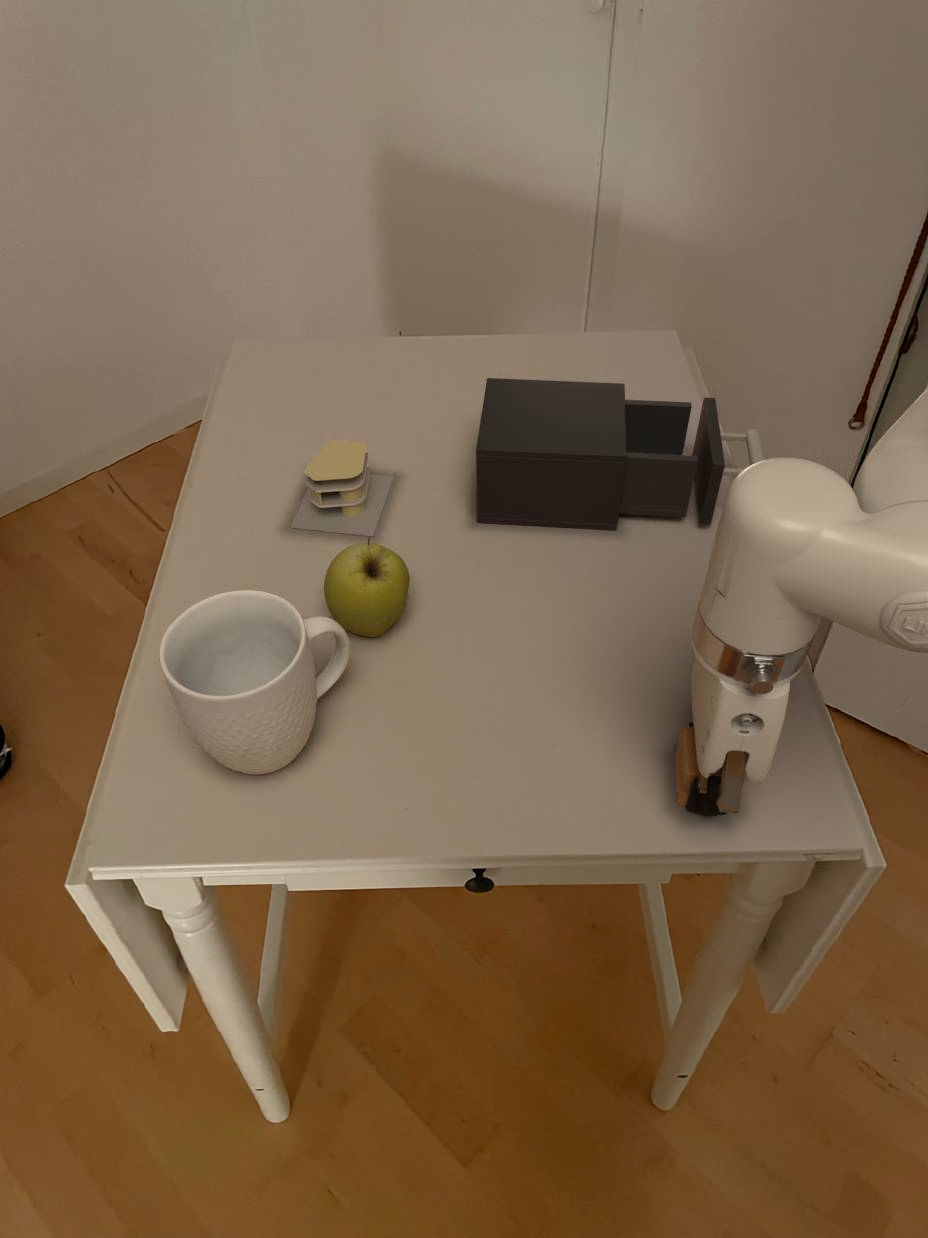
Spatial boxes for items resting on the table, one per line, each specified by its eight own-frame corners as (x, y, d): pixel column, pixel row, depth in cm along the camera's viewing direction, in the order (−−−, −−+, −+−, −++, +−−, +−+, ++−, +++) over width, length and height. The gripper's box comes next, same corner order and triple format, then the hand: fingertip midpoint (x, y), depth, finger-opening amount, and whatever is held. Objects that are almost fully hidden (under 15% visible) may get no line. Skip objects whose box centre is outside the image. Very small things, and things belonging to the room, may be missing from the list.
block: (729, 762, 76) (740, 730, 72) (734, 809, 73) (746, 778, 69) (674, 758, 76) (682, 725, 73) (677, 805, 73) (686, 773, 70)
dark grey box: (615, 456, 104) (624, 383, 97) (616, 530, 95) (626, 456, 88) (487, 450, 105) (486, 377, 98) (476, 523, 96) (476, 448, 89)
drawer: (747, 459, 101) (763, 399, 96) (759, 527, 94) (777, 466, 88) (580, 451, 103) (586, 392, 97) (579, 518, 95) (584, 457, 90)
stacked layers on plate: (316, 469, 103) (309, 428, 99) (394, 476, 102) (390, 436, 98) (290, 528, 96) (281, 487, 92) (373, 536, 95) (368, 495, 91)
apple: (309, 594, 88) (327, 513, 82) (388, 596, 91) (412, 518, 85) (322, 654, 83) (342, 574, 76) (405, 654, 86) (432, 576, 79)
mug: (320, 651, 85) (299, 546, 75) (391, 724, 79) (377, 622, 69) (175, 736, 78) (131, 634, 69) (239, 823, 73) (201, 725, 63)
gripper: (831, 740, 55) (763, 882, 68) (791, 548, 66) (740, 702, 80) (703, 731, 55) (661, 873, 69) (686, 542, 67) (653, 696, 80)
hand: (704, 780), depth 74 cm, fingers closed on block, 4 cm apart
